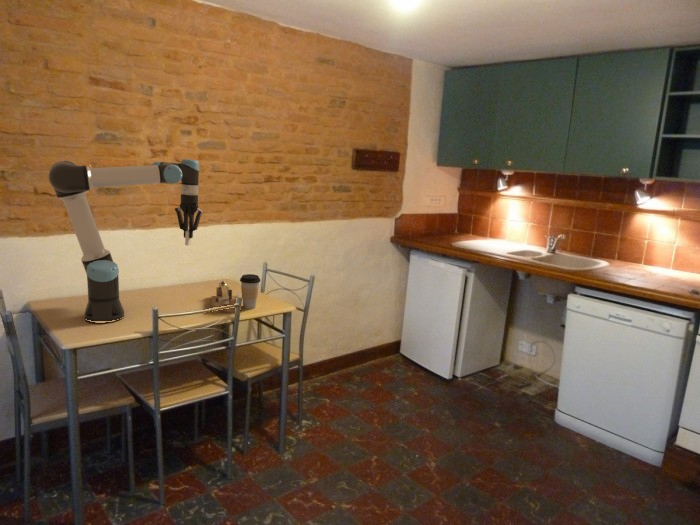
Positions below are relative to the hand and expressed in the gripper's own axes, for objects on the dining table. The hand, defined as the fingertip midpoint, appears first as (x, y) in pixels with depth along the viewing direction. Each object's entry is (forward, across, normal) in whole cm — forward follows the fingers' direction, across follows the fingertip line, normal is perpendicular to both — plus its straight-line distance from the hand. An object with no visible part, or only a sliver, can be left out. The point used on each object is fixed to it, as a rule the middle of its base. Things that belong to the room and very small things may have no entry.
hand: (187, 244), depth 236 cm
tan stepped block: (+27, +20, -3) cm, 34 cm away
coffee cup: (+27, +30, +2) cm, 41 cm away
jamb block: (+27, +14, +10) cm, 32 cm away
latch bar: (+21, +17, +3) cm, 28 cm away
